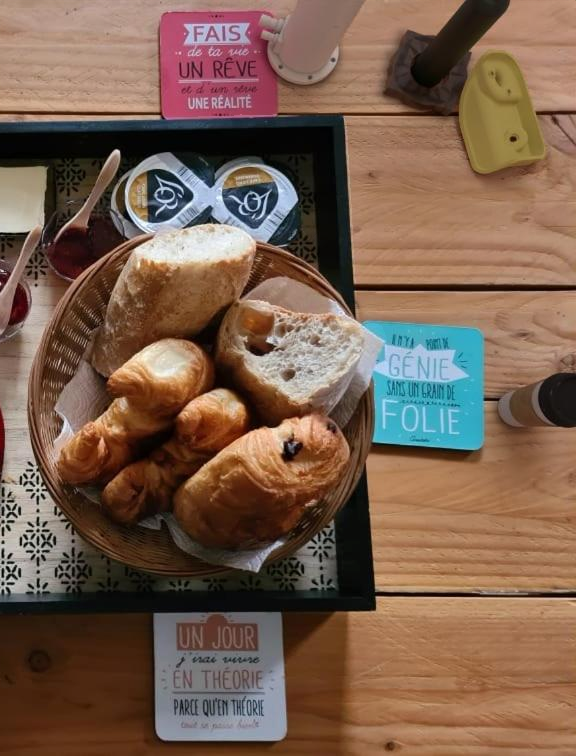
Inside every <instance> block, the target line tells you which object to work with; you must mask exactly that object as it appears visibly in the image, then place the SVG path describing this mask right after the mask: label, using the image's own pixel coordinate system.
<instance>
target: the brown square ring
mask: <svg viewBox="0 0 576 756" xmlns="http://www.w3.org/2000/svg"><path fill="white" fill-rule="evenodd" d="M435 36H436V35H434V34H426V35H425V34H422V33H419V32H417V31H416V32H415V31H413V30H411V29H407V30H406V31H405V33H404V34H403V35H402V37H401V40H400V42H399V46H398V48H397V49H396V50H395V52H394V53H393V54H392V56H391V58H390V60H389V64H388V67H387V80H386V83H385V86H384V89H383V91H382V92H383V94H384V95H387V96H390V97H393V98H395V99H398V100H399V101H401V102H402V103H403V104H404V105H405V106H407V107H409V108H413V109H415V110H418V111H421V112H422V111H432V113H433V112H434V113H437V114H440V115H441V116H444V117H448V116H449V115H451V113H452V112H453V111H454V108H455V105H456V101H457V100H458V96H459V95H461V94H462V91H463V88H464V85H465V82H466V80H467V78H468V76H469V73H468V66H469V62H470V60H471V57H472V54H473V51H471V50H469V51H468V53H467V54H466V55H465V56H464V57H463V58H462V59H461V60H460V61H459V62H458V63H457V64H456V65H455V66H454V68H453V69H452V70H451V71H450V72H449V73H448V74H447V75H446V76H445V77H444V78H443V82H442V85H440V86H436V87H434V88H426V87H423V86H420V85H419V84H418V83H417V82H416V81H414V79H413V77H412V75H411V73H410V67H411V65H412V62H413V61H416V59H417V58H418V57H419V56H420V55H421V53H422V52H423V51H424V50H425V49H426V47H427V46H428V45H429V44H430V42H431V41H432V40H433V39H434V38H435Z"/></svg>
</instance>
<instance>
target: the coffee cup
mask: <svg viewBox="0 0 576 756" xmlns="http://www.w3.org/2000/svg"><path fill="white" fill-rule="evenodd" d="M497 411H498V414H499V417H500V419H501V420H502V421H503V422H504V423H506V424H507V425H509V426H511V427H519V428H521V427H522V428H523V427H531V428H533V427H534V428H564V429H572V428H576V372H569V371H568V372H567V371H565V372H557V373H554V374H551V375H549V376H548V377H545V378H543V379H541V380H538V381H536V382H535V381H534V382H532V383H530V384H527V385H525V386H522V387H520V388H517V389H514V390H512V391H509V392H506V393H505V394H503V395H502V396H501V397H500V399H499V401H498V403H497Z"/></svg>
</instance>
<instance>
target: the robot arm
mask: <svg viewBox="0 0 576 756" xmlns="http://www.w3.org/2000/svg"><path fill="white" fill-rule="evenodd" d="M366 1H367V0H297V1H296V4H295V5H294V8H293V10H292V12H291V13H290V14H287V15H286V17H285V19H283V18H281V17H279V18H278V19H276V18H274V17H272V16H270V15H268V14H265V13H261V15H260V18H259V21H258V24H257V26H259V27H262V28H265V29H269V30H272V31H273V32H270V31H268V30H265V29H263V30H262V32H261V34H260V37H259V39H261V40H265V41H268V43H267V47H266V48H267V50H266V52H267V58H268V59H267V60H268V62H269V64H270V66H271V68H272V69H273V71H274V72H275V73H276V74H277V75H278V76H280V77H281V78H282V79H283V80H285V81H287V82H290V83H293V84H296V85H300V86H301V85H306V86H307V85H313V84H316V83H318V82H321V81H323V80H324V79H325V78H328V76H329V75H331V73H332V71H333V70H334V68H335V67H336V66H337V63H338V60H339V54H340V53H339V52H340V49H339V44H340V42H341V41H342V39H343V38H344V36H345V35H346V33H347V32H348V30H349V28H350V27H351V25H352V24H353V22H354V20H355V19H356V17H357V15H358V13H359V12H360V10H361V8H362V7H363V5H364V4H365V2H366Z"/></svg>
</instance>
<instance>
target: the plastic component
mask: <svg viewBox="0 0 576 756" xmlns="http://www.w3.org/2000/svg"><path fill="white" fill-rule="evenodd" d="M458 121H459V129H460V131H461V135H462V138H463V141H464V145H465V148H466V151H467V155H468V159H469V163H470V165H471V168H472V169H473V171H475V172H476V173H479V174H484V175H485V174H492V173H494V172H496V171H499V170H502V169H506V168H510V167H522V166H523V167H524V166H528V165H531V164H533V163H536V162H538V161H540V160H543V159H544V158H545V157H546V155H547V148H546V143H545V140H544V136H543V132H542V130H541V126H540V123H539V120H538V116H537V113H536V110H535V106H534V103H533V100H532V96H531V93H530V89H529V87H528V84H527V80H526V78H525V74H524V72H523V70H522V68H521V66H520V64H519V62H518V60H517V59H516V58H515V57H514V55H512V54H511V53H510V52H509V51H506V50H504V49H488V50H486V51H485V52H484V53H483V54H482V55H481V56H480V57H479V58H478V60H477V61H476V63H474V65H473V67H472V68H471V70H470V72H469V73H468V78H467V80H466V82H465V85H464V88H463V91H462V92H461V93H460V99H459V104H458ZM511 138H515V141H511Z"/></svg>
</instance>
